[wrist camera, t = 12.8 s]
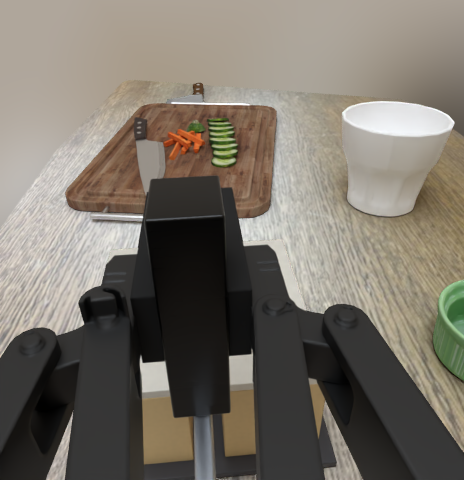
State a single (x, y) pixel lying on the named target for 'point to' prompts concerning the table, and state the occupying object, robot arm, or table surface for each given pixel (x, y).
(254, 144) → the chopping board
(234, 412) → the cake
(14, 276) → the table surface
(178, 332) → the black-handled knife
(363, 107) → the cup
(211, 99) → the table surface
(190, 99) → the kitchen cleaver
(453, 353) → the ramekin
